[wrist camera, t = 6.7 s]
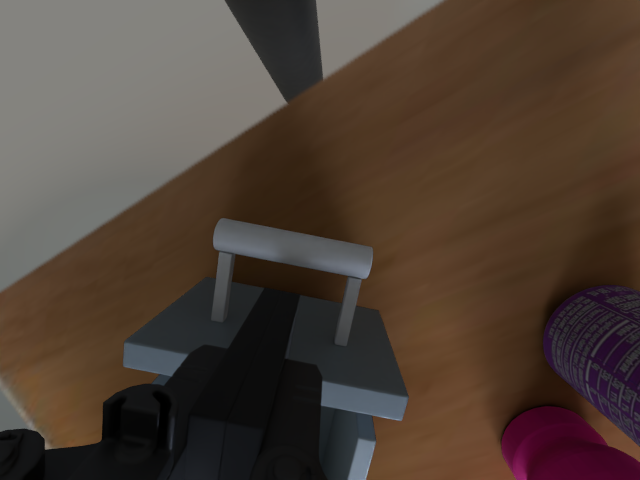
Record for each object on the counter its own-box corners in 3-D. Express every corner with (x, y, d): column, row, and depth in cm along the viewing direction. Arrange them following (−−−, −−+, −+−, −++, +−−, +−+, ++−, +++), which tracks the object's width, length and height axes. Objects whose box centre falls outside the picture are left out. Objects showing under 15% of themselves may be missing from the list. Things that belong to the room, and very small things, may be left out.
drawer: (214, 200, 18) (129, 216, 11) (397, 236, 18) (444, 278, 11) (186, 446, 22) (109, 588, 14) (337, 475, 22) (340, 633, 14)
